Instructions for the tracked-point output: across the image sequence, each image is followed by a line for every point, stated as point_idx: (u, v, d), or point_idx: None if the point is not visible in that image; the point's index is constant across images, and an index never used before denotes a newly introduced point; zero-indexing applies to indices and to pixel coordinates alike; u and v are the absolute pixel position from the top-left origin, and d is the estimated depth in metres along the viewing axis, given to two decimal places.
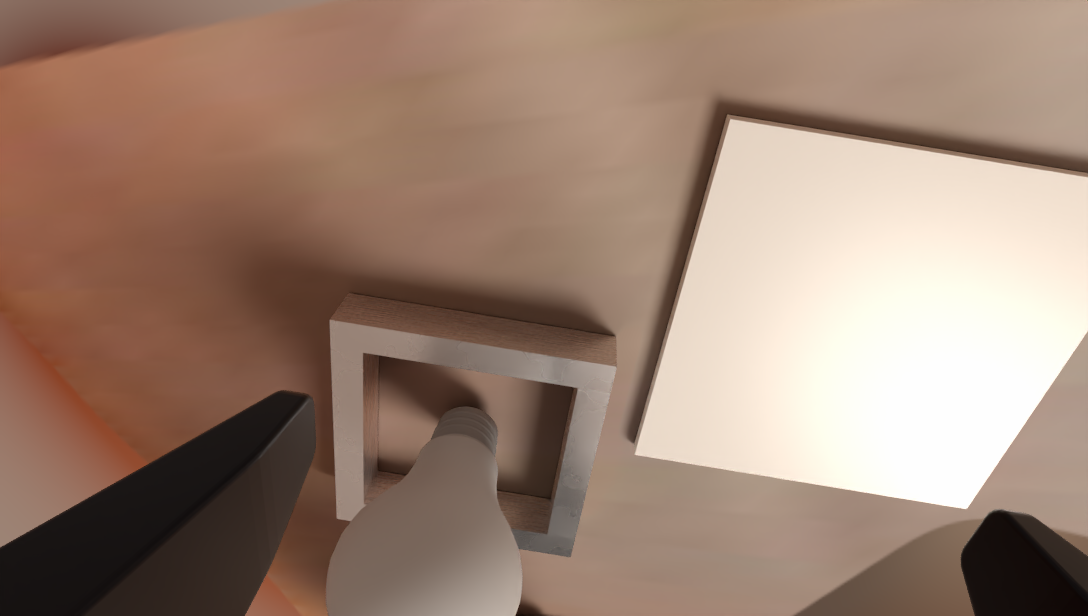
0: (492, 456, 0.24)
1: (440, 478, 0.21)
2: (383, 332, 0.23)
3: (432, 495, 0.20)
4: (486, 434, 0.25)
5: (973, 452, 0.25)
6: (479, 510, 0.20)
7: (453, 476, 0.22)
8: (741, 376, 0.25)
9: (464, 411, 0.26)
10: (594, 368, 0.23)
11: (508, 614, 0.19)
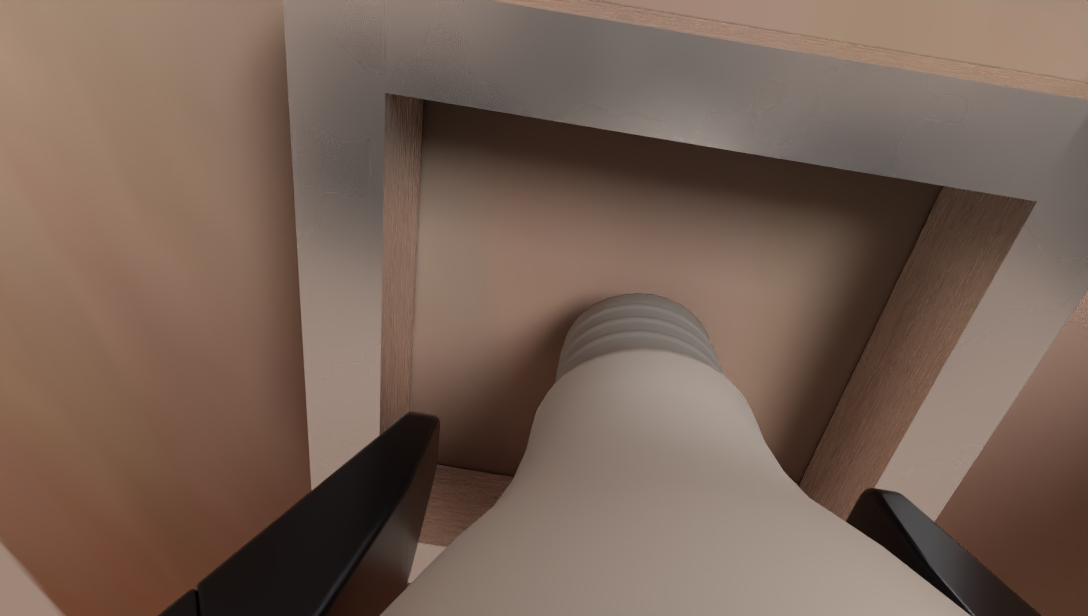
0: (595, 362, 0.08)
1: None
2: None
3: None
4: (585, 342, 0.10)
5: None
6: None
7: None
8: None
9: None
10: (304, 41, 0.08)
11: None
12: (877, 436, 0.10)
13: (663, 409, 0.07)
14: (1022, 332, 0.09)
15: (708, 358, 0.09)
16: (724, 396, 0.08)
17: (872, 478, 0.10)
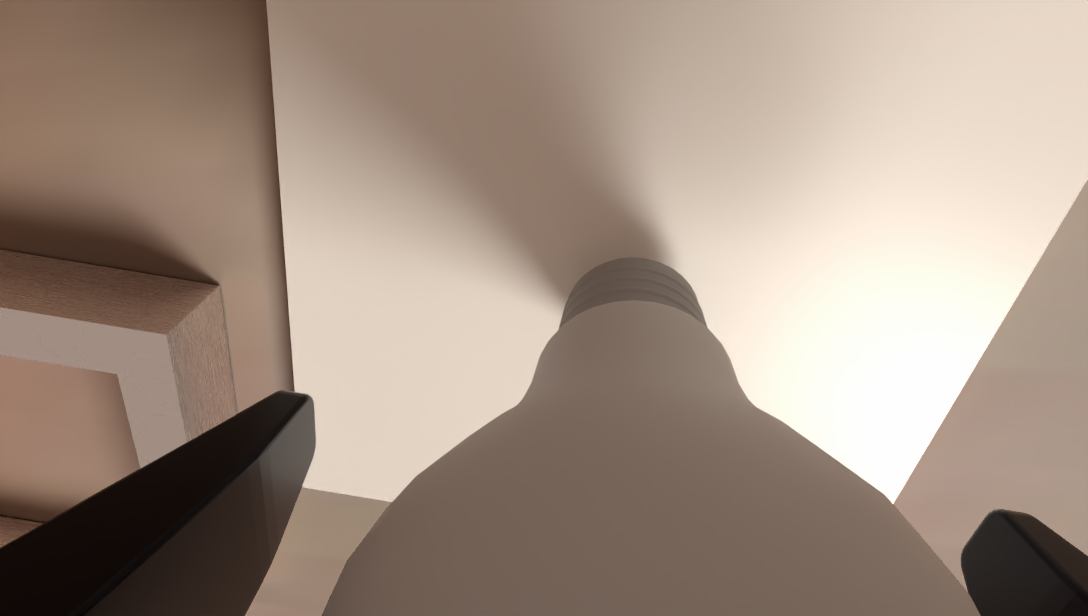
0: (591, 312, 0.10)
1: None
2: None
3: None
4: (584, 298, 0.11)
5: None
6: (389, 505, 0.06)
7: None
8: (432, 355, 0.14)
9: None
10: (129, 338, 0.13)
11: None
12: None
13: (645, 346, 0.08)
14: None
15: (693, 313, 0.10)
16: (702, 340, 0.09)
17: None
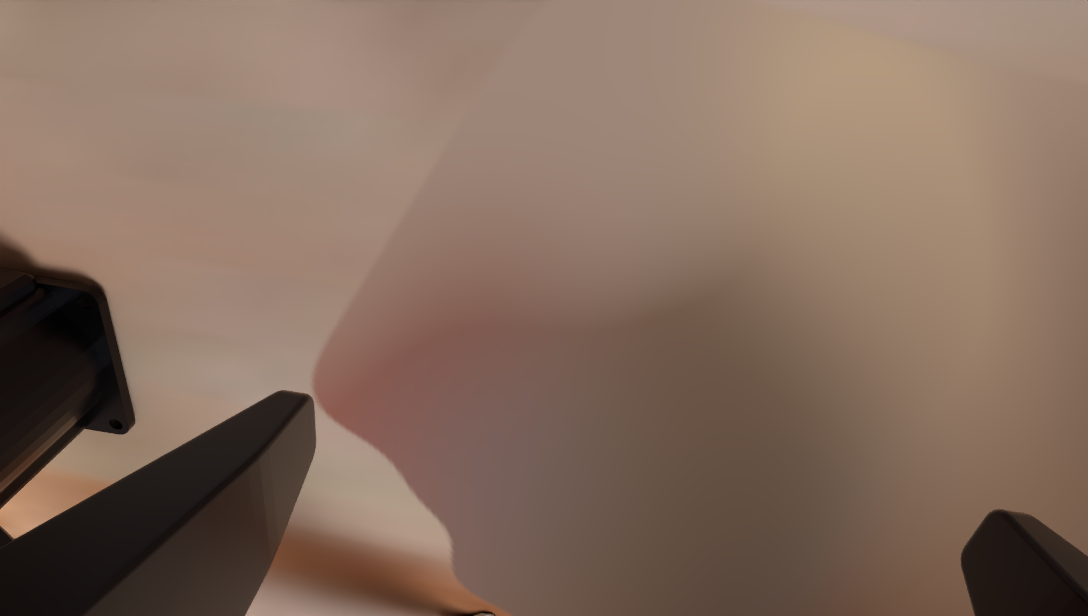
0: None
1: None
2: None
3: None
4: None
5: None
6: None
7: None
8: None
9: None
10: None
11: None
12: None
13: None
14: None
15: None
16: None
17: None
